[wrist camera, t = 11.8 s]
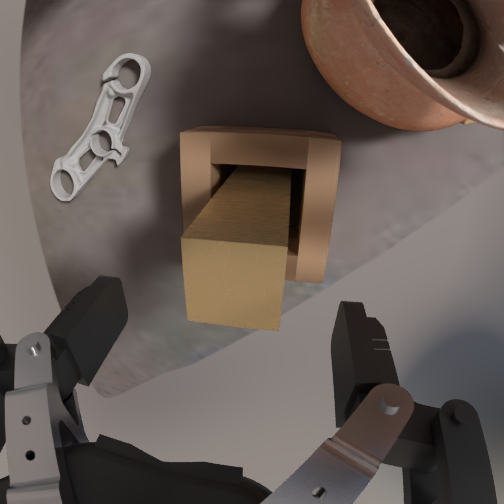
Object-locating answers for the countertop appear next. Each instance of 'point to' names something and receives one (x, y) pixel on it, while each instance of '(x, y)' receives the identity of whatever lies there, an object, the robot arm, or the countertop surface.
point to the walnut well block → (276, 155)
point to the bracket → (95, 126)
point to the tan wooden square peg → (240, 251)
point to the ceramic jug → (412, 59)
